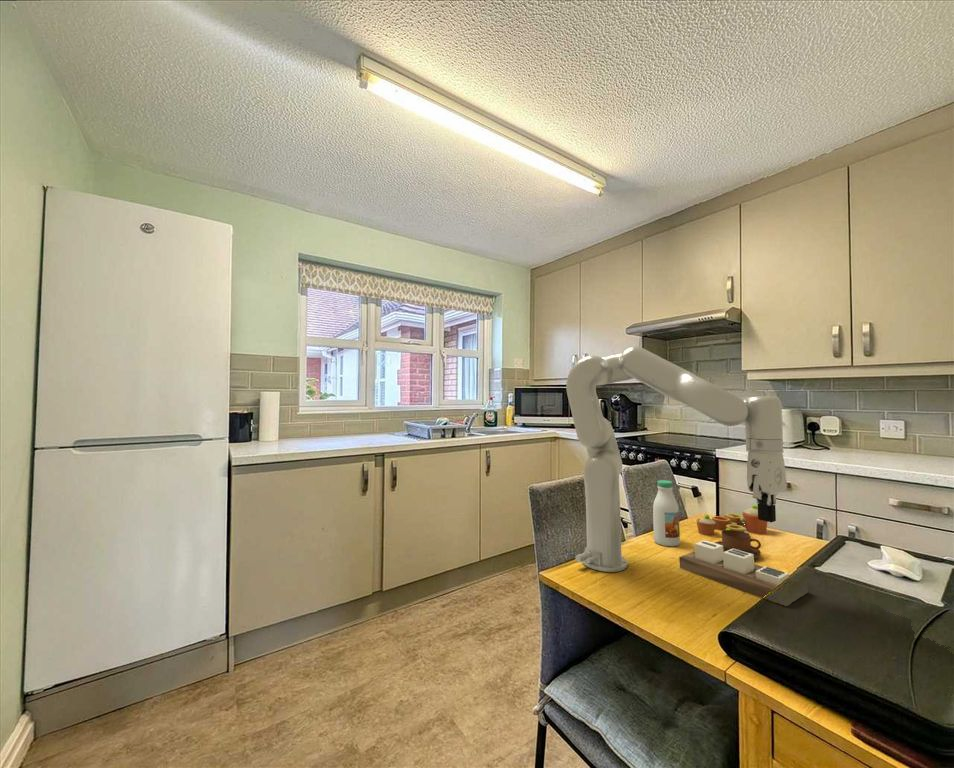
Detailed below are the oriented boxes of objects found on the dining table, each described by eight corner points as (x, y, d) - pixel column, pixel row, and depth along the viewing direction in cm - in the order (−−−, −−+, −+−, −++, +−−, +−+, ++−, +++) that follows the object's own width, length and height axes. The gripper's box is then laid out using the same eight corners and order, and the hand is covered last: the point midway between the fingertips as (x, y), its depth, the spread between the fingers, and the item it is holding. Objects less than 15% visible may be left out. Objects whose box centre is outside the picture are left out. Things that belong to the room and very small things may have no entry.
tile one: (713, 564, 106) (713, 548, 106) (695, 558, 110) (694, 542, 110) (723, 560, 108) (723, 544, 108) (705, 554, 112) (704, 539, 113)
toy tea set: (730, 521, 152) (729, 495, 153) (776, 532, 139) (775, 505, 139) (688, 532, 140) (687, 504, 140) (734, 546, 126) (732, 515, 127)
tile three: (780, 596, 93) (779, 577, 93) (756, 587, 97) (755, 569, 97) (789, 590, 95) (788, 572, 96) (765, 582, 100) (765, 565, 100)
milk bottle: (655, 545, 127) (653, 483, 128) (652, 537, 134) (650, 478, 135) (682, 548, 125) (680, 484, 125) (677, 539, 132) (675, 479, 133)
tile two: (744, 574, 99) (744, 557, 99) (723, 567, 103) (723, 551, 104) (754, 570, 102) (753, 553, 102) (733, 563, 106) (732, 547, 106)
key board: (786, 607, 89) (785, 593, 89) (679, 567, 110) (679, 556, 110) (808, 593, 95) (807, 580, 95) (703, 558, 116) (703, 548, 116)
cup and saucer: (746, 547, 125) (745, 527, 125) (770, 563, 113) (769, 541, 113) (706, 546, 126) (705, 527, 126) (726, 562, 114) (725, 540, 114)
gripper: (767, 449, 91) (770, 530, 90) (795, 445, 99) (798, 519, 98) (732, 446, 97) (734, 521, 97) (761, 442, 105) (764, 512, 104)
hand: (766, 520), depth 97 cm, fingers closed
